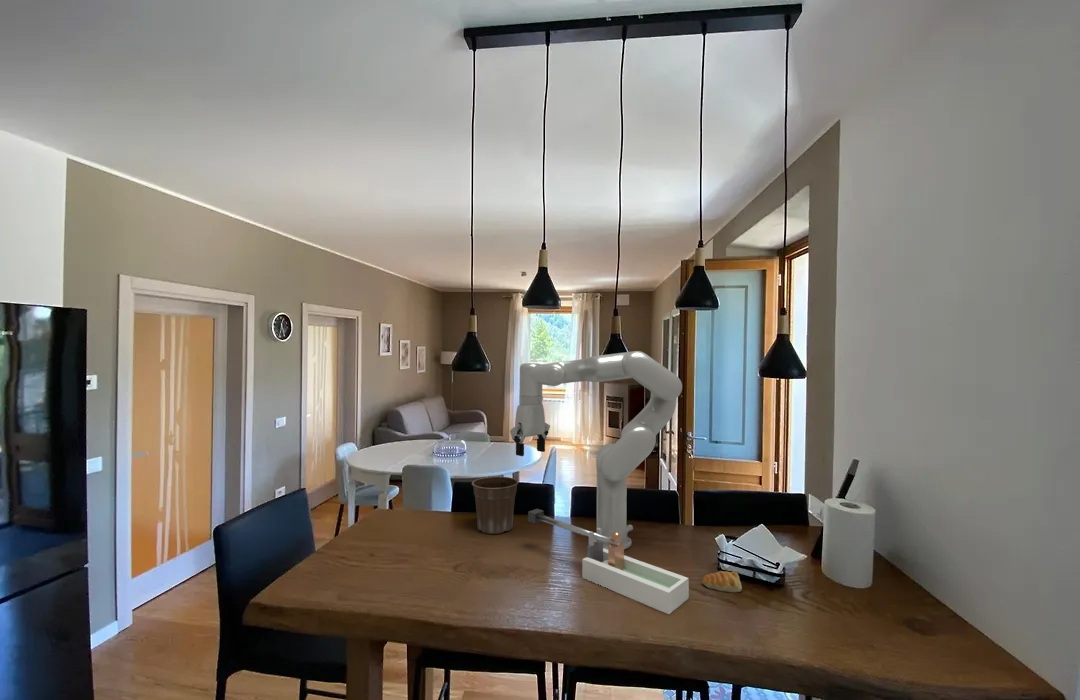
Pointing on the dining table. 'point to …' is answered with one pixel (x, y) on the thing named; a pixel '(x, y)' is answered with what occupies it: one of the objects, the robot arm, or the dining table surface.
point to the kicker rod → (613, 550)
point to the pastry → (723, 581)
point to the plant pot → (495, 503)
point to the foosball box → (635, 579)
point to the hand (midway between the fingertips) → (530, 453)
